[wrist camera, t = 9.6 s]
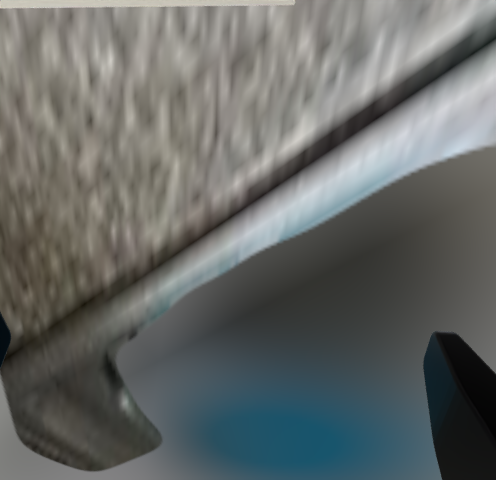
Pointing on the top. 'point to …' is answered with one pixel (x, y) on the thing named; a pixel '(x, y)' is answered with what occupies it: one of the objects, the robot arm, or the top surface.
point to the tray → (135, 3)
